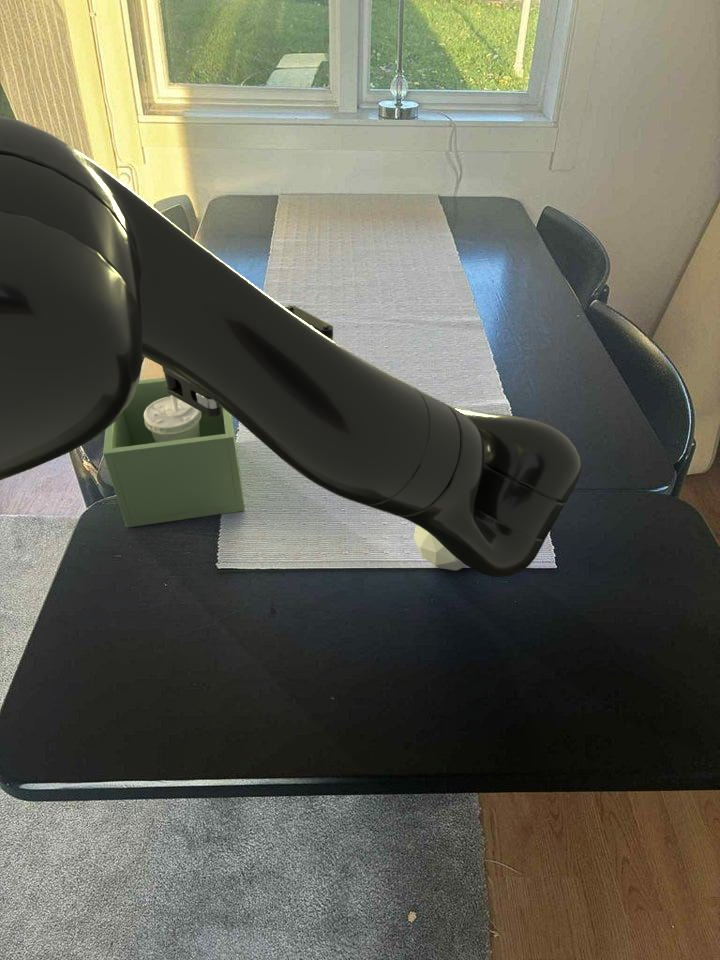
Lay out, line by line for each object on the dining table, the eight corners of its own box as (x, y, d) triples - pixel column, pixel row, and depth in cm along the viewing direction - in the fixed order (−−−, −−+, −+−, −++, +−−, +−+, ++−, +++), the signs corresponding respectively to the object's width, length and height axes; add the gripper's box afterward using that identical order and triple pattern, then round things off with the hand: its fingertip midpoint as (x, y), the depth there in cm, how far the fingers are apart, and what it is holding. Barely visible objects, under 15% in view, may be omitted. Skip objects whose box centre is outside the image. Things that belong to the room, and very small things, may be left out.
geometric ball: (463, 581, 78) (498, 571, 71) (397, 564, 76) (426, 553, 69) (471, 516, 80) (506, 500, 73) (407, 498, 78) (437, 480, 71)
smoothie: (215, 487, 84) (197, 389, 75) (161, 497, 83) (135, 399, 74) (208, 454, 89) (191, 359, 80) (157, 463, 88) (133, 368, 78)
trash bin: (126, 528, 81) (102, 453, 73) (130, 455, 91) (110, 383, 83) (244, 510, 83) (233, 437, 75) (235, 441, 93) (225, 370, 85)
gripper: (389, 321, 56) (255, 262, 64) (253, 396, 48) (120, 317, 56) (387, 399, 61) (263, 335, 69) (263, 478, 53) (139, 395, 61)
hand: (199, 327), depth 62 cm, fingers open, 8 cm apart
